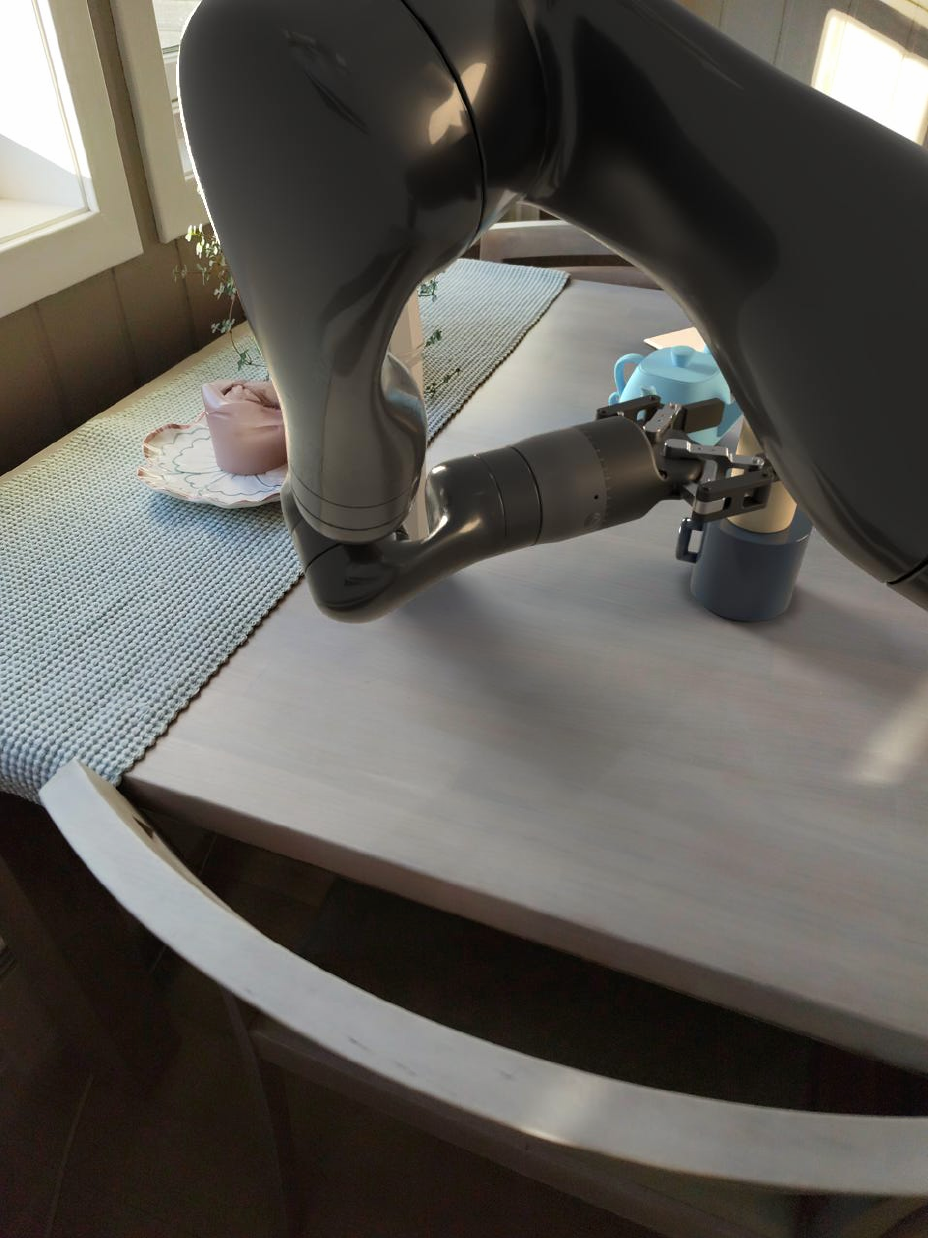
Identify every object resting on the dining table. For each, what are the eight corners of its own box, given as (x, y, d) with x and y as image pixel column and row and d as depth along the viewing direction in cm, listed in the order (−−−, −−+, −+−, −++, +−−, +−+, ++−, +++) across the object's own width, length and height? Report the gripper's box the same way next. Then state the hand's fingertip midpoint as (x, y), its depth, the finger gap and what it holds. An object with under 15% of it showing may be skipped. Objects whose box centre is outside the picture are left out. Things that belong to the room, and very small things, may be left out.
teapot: (753, 477, 92) (778, 375, 85) (628, 485, 91) (642, 383, 84) (706, 412, 104) (723, 318, 97) (593, 419, 102) (603, 324, 95)
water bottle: (444, 568, 80) (438, 293, 64) (361, 586, 77) (334, 307, 61) (413, 517, 86) (401, 257, 70) (336, 532, 84) (306, 268, 68)
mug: (793, 574, 79) (816, 499, 74) (785, 631, 73) (809, 553, 68) (679, 550, 82) (693, 476, 77) (661, 603, 76) (675, 527, 70)
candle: (720, 495, 74) (744, 385, 68) (786, 500, 74) (817, 389, 67) (726, 531, 70) (752, 417, 64) (796, 536, 69) (830, 422, 63)
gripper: (639, 482, 53) (838, 428, 58) (526, 391, 63) (706, 352, 68) (624, 580, 58) (810, 521, 63) (522, 481, 68) (690, 438, 73)
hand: (756, 433), depth 66 cm, fingers open, 8 cm apart
